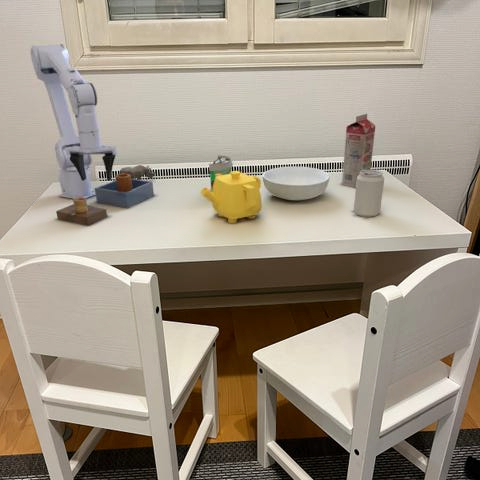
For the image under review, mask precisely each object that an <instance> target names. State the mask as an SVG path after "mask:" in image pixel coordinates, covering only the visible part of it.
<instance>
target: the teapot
mask: <svg viewBox="0 0 480 480" xmlns="http://www.w3.org/2000/svg"><path fill="white" fill-rule="evenodd" d="M215 175H216V178H215V181H214V185H213V189H212V192H211V189H210V188H208V187H206V186H205V187H203V188H202V189H201V191H200V195H201V196H203V197H204V198H205V199H206V200H208V201H209V202H210V203H211V206H212V208H213V210H214V211H215V212H216V213H217V217H221V218H223V217H225V218H227V222H228V224H229V223H230V224H235V223H237V222H238V219H242V218H247V219H252V220H253V219H255V218H256V215H258V214H260V212H261V209H262V196H261V190H260V189H261V186H262V181H261V179H260V178H259V177H258V176H256V175H249V174H247V173H246V174H245V173H242V172H241V171H239V170H233V171H232V170H231V172H230V174H227V175H222V174H215Z"/></svg>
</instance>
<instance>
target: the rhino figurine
mask: <svg viewBox="0 0 480 480" xmlns="http://www.w3.org/2000/svg"><path fill="white" fill-rule="evenodd" d="M156 173H157V171H156V170H155V171H153V170H152V167H150V166H149V165H146V166H145V165H143V164H142V165H141V164H138V165H136V166H132V167H131V166H127V167H122V168H121V169H120V170H119V173H118V174H130V175H131V179H136V180H142V178H143V176H144V177H146V178H149V179H153V178H154V176H155V174H156Z"/></svg>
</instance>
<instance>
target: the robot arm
mask: <svg viewBox="0 0 480 480" xmlns="http://www.w3.org/2000/svg"><path fill="white" fill-rule="evenodd" d="M30 59H31V63H32V67H33V70H34V73H35V75H36V78H37V79H38V80H39V81H42V82H43V84H44V86H45V88H46V92H47V95H48V98H49V102H50V105H51V109H52V113H53V115H54V118H55V122H56V126H57V129H58V132H59V135H60V138H59V139H58V140H57V142H55V144H54V151H55V158H56V161H57V165H58V166H59V168H60V170H59V171H58V172H59V173H58V179H59V180H58V181H59V185H60V189H61V194H60V197H61V198H68V199H72V200H73V199H75V198H79V197H84V198H86V199H88V198H91V197H93V196H96V193H95V190H94V191H93V189H92V184H91V179H90V172H89V168H90V166H91V165H92V163H93V157H92V155H103V156H102V157H101V158H102V161H103V165H104V169H105V175H106V180H107V181H111V180H112V178H113V177H112V175H113V167H114V162H115V159H116V156H117V155H118V154H119V149H118V146H114V145H113V146H112V145H102V140H101V137H100V135H101V134H100V128H99V122H98V116H97V110H96V106H97V105H98V93H97V90H96V87H95V86H94V83H92V82H89V81H87V82H86V81H85V79H84V78H83V76H82V75H81V74H80V72H79V70H77V69H76V68H74V67H71V65H70V64H71V62H70V61H71V59H70V53H69V50H68V48H67V46H66V45H64V44H63V43H60V44H48V45H34V44H33V45H32V46H31V47H30ZM64 90H65V91H66V93H67V96H68V101H69V103H70V106H71V111H72V114H73V115H74V117H75V123H76V129H77V133H76V129H75V125H74V122H73V118H72V115H71V112H70V108H69V105H68V102H67V98H66V94H65V91H64Z"/></svg>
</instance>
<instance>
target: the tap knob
mask: <svg viewBox="0 0 480 480" xmlns="http://www.w3.org/2000/svg"><path fill="white" fill-rule="evenodd" d="M72 202H73V204H74V208H75V212H76V213H84V212H87V211H88V207H87V205H88V203H87V198H84V197H79V198H75V199H72Z"/></svg>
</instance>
